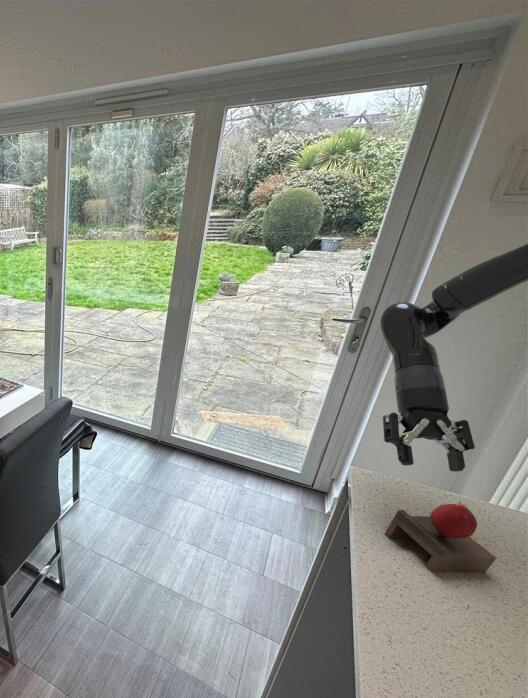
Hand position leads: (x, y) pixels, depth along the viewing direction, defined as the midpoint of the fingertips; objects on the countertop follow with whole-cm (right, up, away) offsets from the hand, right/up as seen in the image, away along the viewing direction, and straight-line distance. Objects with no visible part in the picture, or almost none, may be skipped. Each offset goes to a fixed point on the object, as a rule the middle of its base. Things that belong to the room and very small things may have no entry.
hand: (432, 468), depth 81 cm
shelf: (-2, -16, -2) cm, 17 cm away
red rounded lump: (-2, -12, -4) cm, 13 cm away
